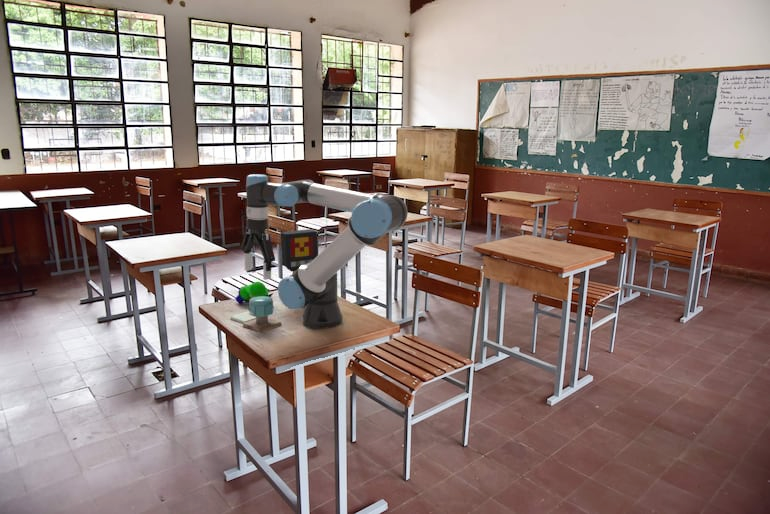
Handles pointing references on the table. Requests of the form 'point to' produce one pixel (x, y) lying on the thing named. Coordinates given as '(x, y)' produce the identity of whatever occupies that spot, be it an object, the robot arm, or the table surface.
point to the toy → (252, 292)
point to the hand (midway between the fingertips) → (257, 274)
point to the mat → (242, 317)
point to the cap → (261, 306)
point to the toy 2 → (298, 248)
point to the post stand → (262, 324)
